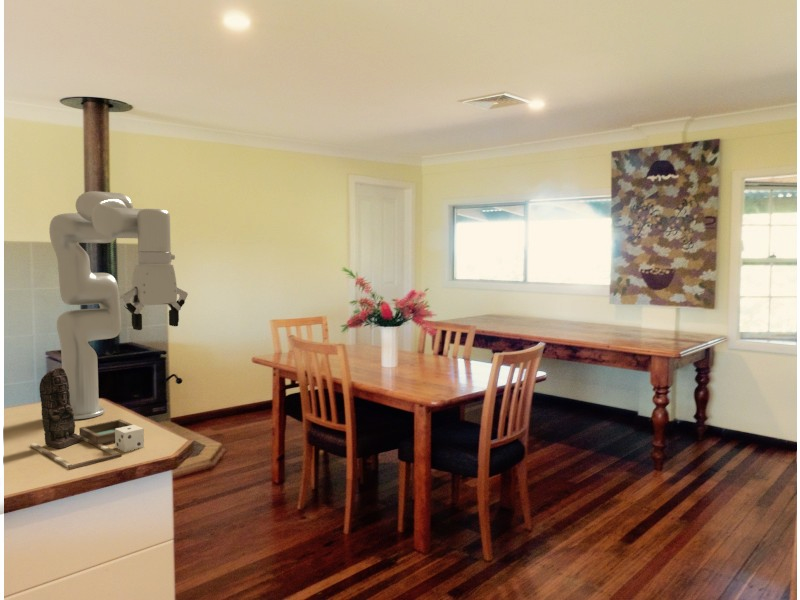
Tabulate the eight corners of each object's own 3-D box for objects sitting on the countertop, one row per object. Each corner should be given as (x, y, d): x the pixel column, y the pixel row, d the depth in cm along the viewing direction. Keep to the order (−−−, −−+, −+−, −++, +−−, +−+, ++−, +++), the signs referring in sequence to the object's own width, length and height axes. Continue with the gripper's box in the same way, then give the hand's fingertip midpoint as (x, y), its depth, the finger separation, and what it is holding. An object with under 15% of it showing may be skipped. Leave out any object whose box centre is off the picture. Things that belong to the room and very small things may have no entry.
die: (115, 447, 159) (114, 428, 158) (134, 443, 162) (134, 424, 162) (124, 452, 155) (124, 432, 155) (144, 447, 159) (143, 428, 159)
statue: (60, 449, 156) (57, 371, 154) (39, 445, 159) (36, 368, 157) (82, 441, 163) (80, 366, 161) (62, 438, 165) (59, 363, 163)
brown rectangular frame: (30, 445, 158) (30, 443, 158) (79, 435, 168) (79, 433, 168) (70, 469, 143) (70, 466, 143) (121, 456, 152) (121, 453, 152)
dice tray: (79, 436, 166) (79, 427, 166) (120, 428, 175) (120, 419, 174) (98, 446, 159) (98, 436, 159) (139, 436, 168) (139, 427, 167)
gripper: (177, 258, 163) (178, 323, 165) (112, 259, 150) (114, 329, 151) (194, 259, 158) (195, 325, 160) (128, 260, 145) (130, 332, 146)
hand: (156, 327), depth 155 cm, fingers open, 9 cm apart
